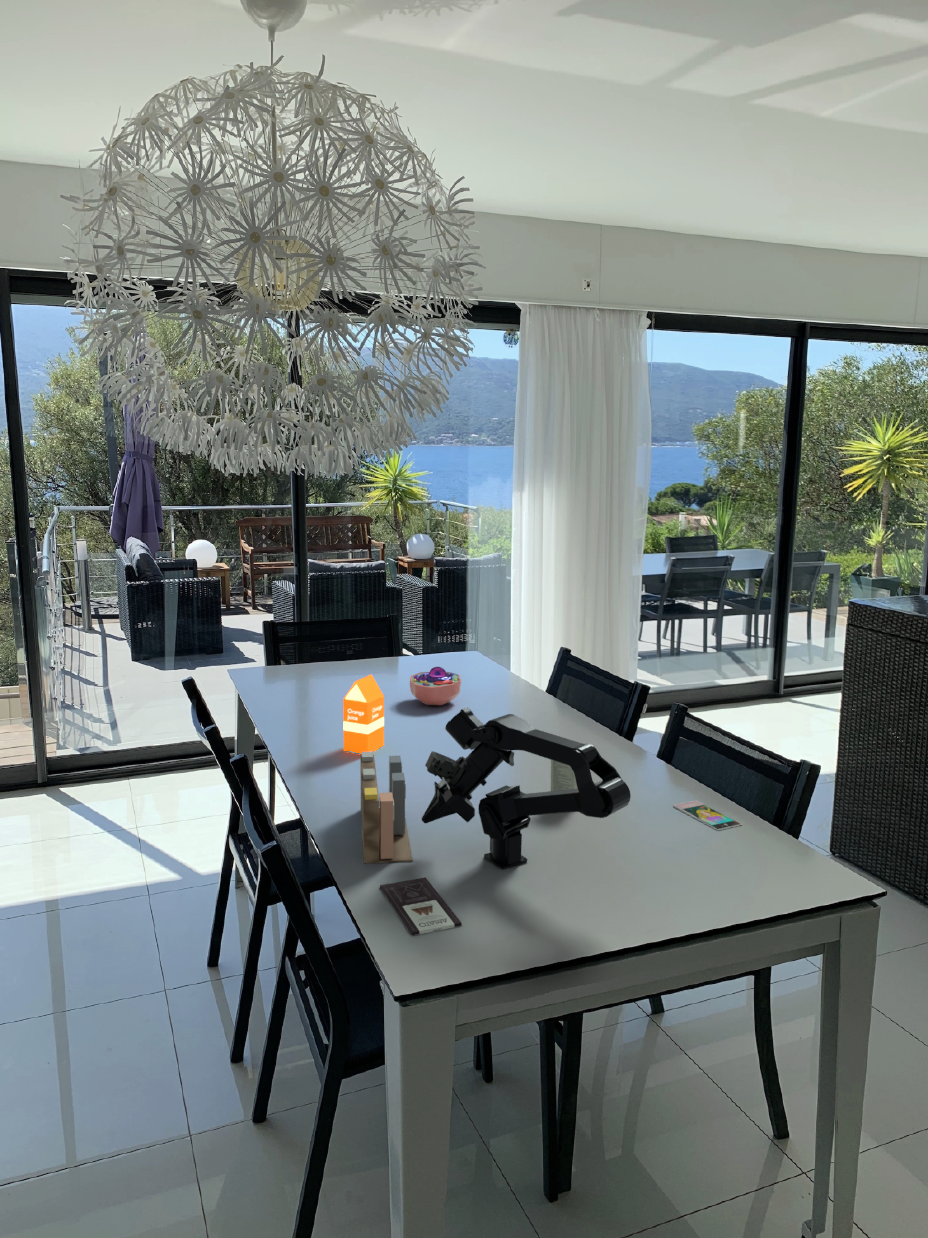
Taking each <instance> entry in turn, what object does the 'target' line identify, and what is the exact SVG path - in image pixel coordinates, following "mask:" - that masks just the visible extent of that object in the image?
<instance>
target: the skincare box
mask: <svg viewBox="0 0 928 1238" xmlns="http://www.w3.org/2000/svg"><path fill="white" fill-rule="evenodd" d="M568 789H578V788H577V784H576V779H575V774H574V772H573V770H572V768H571V767H570V766H569V765H566V764H563V763H560V762H557V761H554V760H550V791H558V790H568Z"/></svg>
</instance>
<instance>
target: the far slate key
mask: <svg viewBox="0 0 928 1238" xmlns="http://www.w3.org/2000/svg"><path fill="white" fill-rule="evenodd" d="M402 763H403V762H402V757H401V755H389V756H388V793H391V792H392V773H403V764H402Z"/></svg>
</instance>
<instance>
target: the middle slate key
mask: <svg viewBox="0 0 928 1238" xmlns="http://www.w3.org/2000/svg"><path fill="white" fill-rule="evenodd" d="M406 785H407V783H406V777H405V773H404V772H402V773H392V795H393V800H394V820H393V835H405V820H406V799H407V798H406V797H407V796H406V795H407V794H406V793H407V789H406V787H407V786H406Z"/></svg>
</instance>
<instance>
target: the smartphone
mask: <svg viewBox="0 0 928 1238" xmlns="http://www.w3.org/2000/svg"><path fill="white" fill-rule="evenodd" d="M672 807H673V808H674V809H676V810H678V811H680V812H681V813H683V814H686V815H687V816H689V817H691V818H693V819H695V820H697V821H699V822H700V823H702V824H704V825H706V826H707V827H709V826H710V828H711V829H713V830H716V832H717V831H719V832H720V831H723V829H724V830H728V829H732V828H731V827H733V828H735V827H734V826H737V827H740V825H741V826H742V823H740V822H738V821H736V820H735V819H733V818H732V817H729V816H727V815H725V814H723V813H721V812H719V811H718V810H716V809H713V807H710V806H708V805H706V804H705V803H702V802H700V801H698V800H696V799H695V800H690V801H685V802H681V803H677V804H673V805H672ZM727 828H728V829H727Z"/></svg>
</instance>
